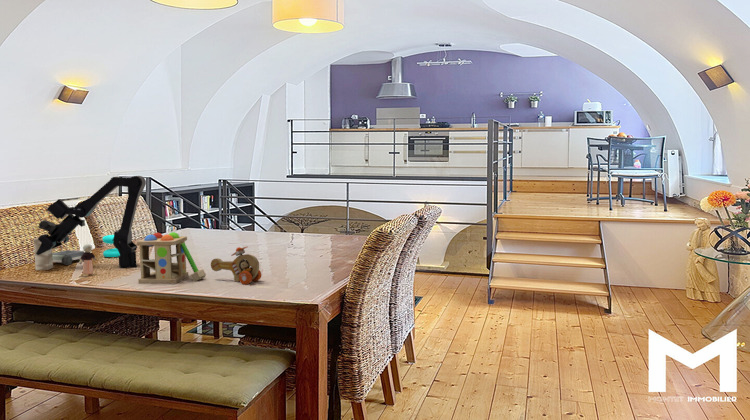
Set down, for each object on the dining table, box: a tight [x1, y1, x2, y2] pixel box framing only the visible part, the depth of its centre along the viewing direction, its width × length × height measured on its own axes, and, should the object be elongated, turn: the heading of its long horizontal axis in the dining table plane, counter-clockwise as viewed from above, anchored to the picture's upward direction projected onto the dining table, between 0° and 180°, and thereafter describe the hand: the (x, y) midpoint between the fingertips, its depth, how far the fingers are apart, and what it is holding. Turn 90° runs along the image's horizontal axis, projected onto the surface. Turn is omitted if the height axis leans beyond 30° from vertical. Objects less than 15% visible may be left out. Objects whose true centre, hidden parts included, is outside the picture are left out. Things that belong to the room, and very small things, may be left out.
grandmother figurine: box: [78, 243, 97, 277], centre depth 235 cm, size 8×4×13 cm, turn 168°
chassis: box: [52, 249, 85, 266], centre depth 265 cm, size 16×13×4 cm
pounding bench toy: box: [136, 231, 207, 284], centre depth 225 cm, size 23×14×18 cm, turn 88°
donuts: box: [102, 234, 120, 258], centre depth 281 cm, size 10×10×10 cm
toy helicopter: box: [210, 246, 262, 286], centre depth 222 cm, size 8×21×14 cm, turn 68°
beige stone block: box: [33, 237, 54, 271], centre depth 249 cm, size 5×5×13 cm
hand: (40, 253), depth 249 cm, fingers closed on beige stone block, 5 cm apart
